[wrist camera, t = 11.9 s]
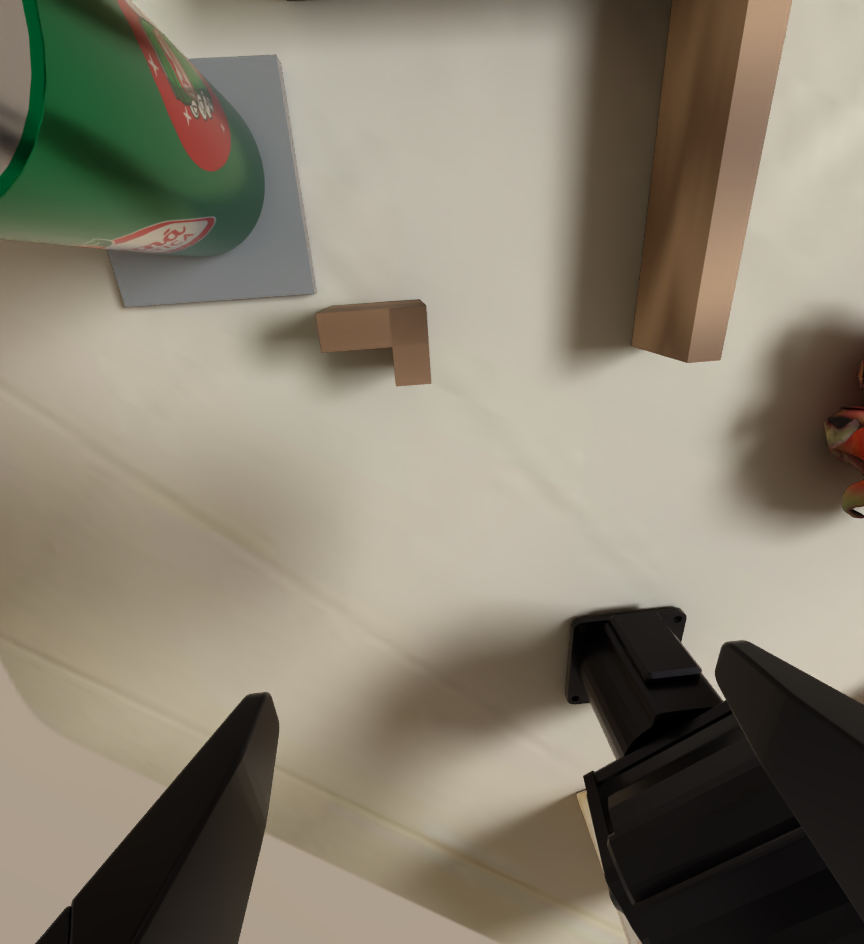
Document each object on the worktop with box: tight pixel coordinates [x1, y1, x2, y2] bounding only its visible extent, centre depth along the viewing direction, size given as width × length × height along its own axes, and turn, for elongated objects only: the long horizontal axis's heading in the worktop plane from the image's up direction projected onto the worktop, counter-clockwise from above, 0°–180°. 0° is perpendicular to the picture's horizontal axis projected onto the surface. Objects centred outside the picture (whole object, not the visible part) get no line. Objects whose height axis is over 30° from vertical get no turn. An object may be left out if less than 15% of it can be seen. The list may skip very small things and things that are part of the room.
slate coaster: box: [107, 55, 317, 307], centre depth 16 cm, size 7×7×1 cm
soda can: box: [0, 0, 265, 257], centre depth 10 cm, size 5×5×12 cm
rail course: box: [287, 0, 792, 386], centre depth 15 cm, size 13×14×4 cm
